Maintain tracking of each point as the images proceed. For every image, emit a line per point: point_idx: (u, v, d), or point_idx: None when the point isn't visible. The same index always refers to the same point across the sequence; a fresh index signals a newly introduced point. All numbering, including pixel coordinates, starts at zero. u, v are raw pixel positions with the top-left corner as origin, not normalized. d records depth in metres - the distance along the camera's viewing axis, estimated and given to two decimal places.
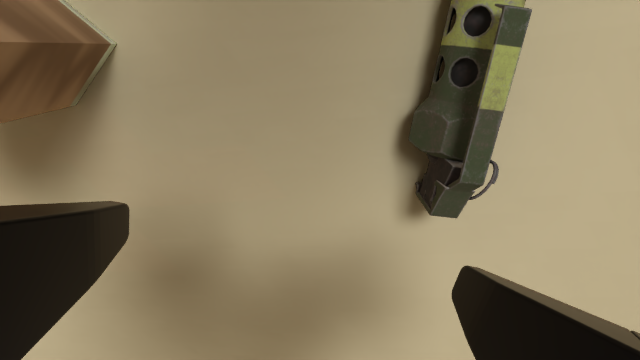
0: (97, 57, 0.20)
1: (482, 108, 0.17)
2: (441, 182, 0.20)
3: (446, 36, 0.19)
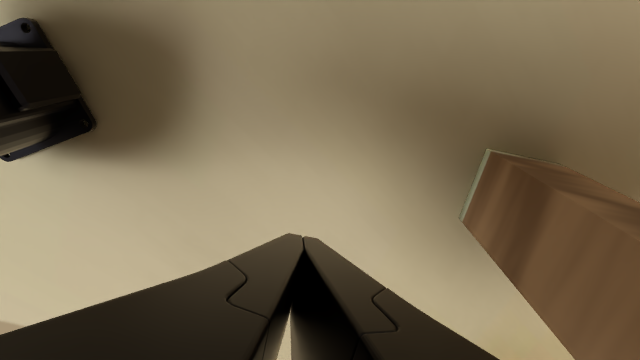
0: (510, 156, 0.21)
1: None
2: None
3: None
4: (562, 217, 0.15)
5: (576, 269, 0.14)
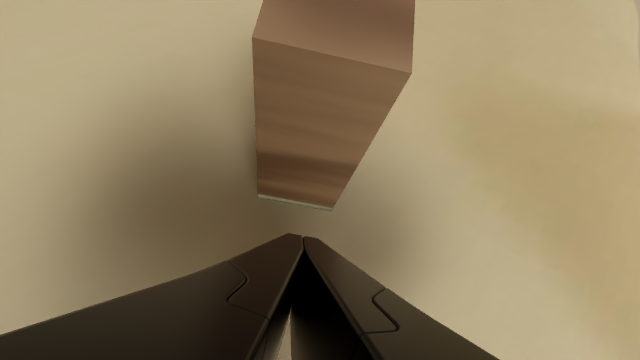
0: None
1: None
2: None
3: None
4: (273, 142, 0.16)
5: (307, 128, 0.15)
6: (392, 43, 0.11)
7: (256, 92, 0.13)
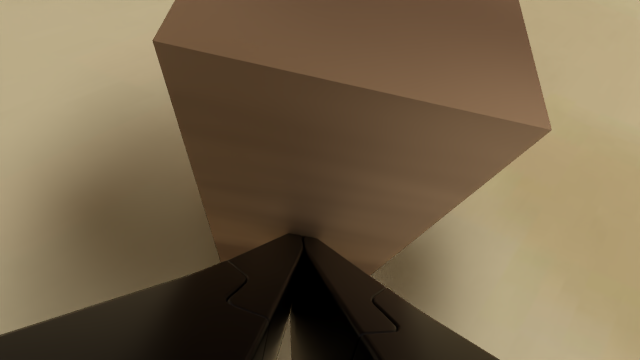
0: None
1: None
2: None
3: None
4: (240, 233, 0.09)
5: (299, 218, 0.08)
6: (492, 61, 0.05)
7: (194, 161, 0.06)
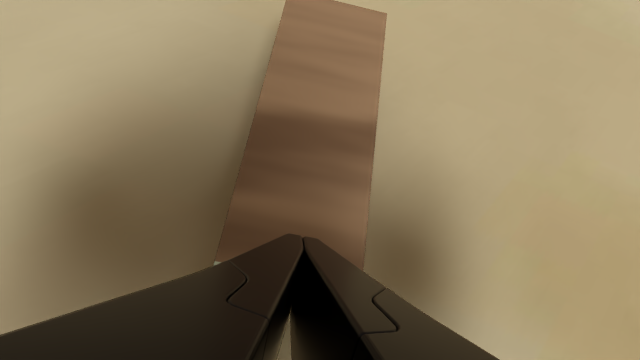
0: None
1: None
2: None
3: None
4: (281, 92, 0.14)
5: (320, 67, 0.15)
6: None
7: (280, 28, 0.16)
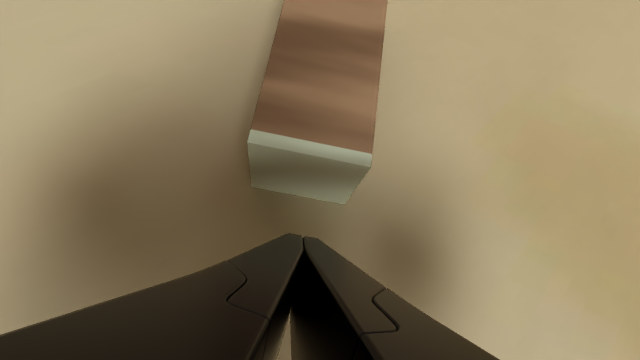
0: None
1: None
2: None
3: None
4: (301, 4, 0.17)
5: None
6: None
7: None
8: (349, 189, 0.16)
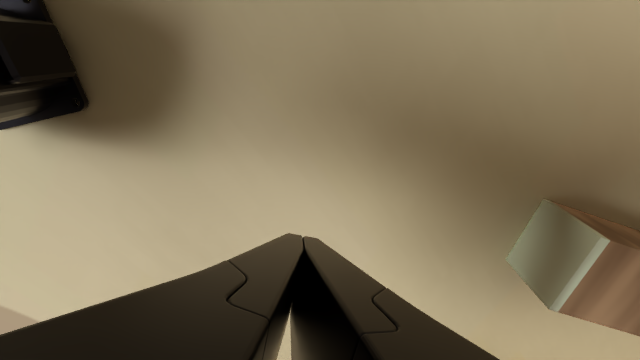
0: (603, 233, 0.19)
1: None
2: None
3: None
4: None
5: None
6: None
7: None
8: (524, 276, 0.22)
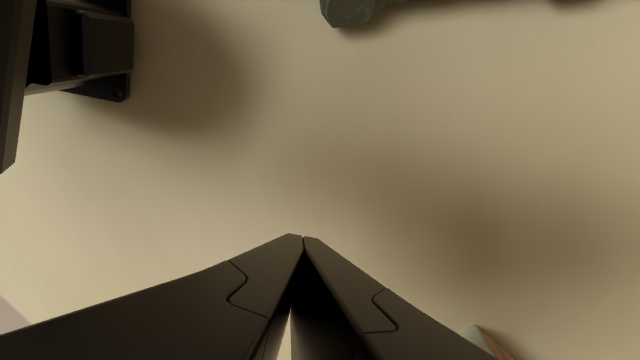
0: None
1: None
2: None
3: None
4: None
5: None
6: None
7: None
8: None
